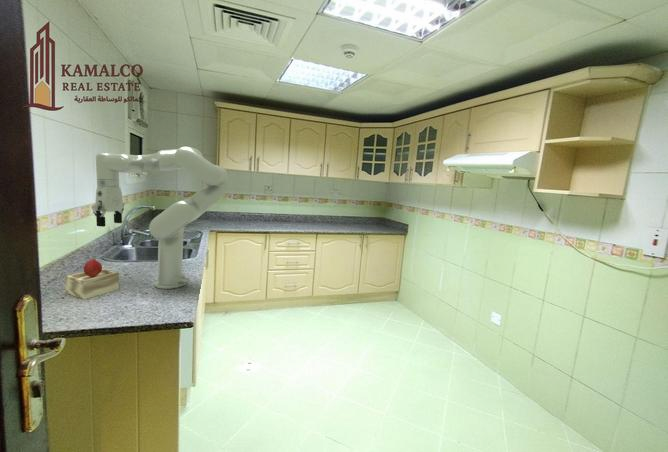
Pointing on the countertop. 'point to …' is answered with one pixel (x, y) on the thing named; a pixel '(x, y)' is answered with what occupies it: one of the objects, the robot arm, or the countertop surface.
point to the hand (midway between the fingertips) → (109, 224)
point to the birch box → (91, 284)
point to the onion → (92, 268)
